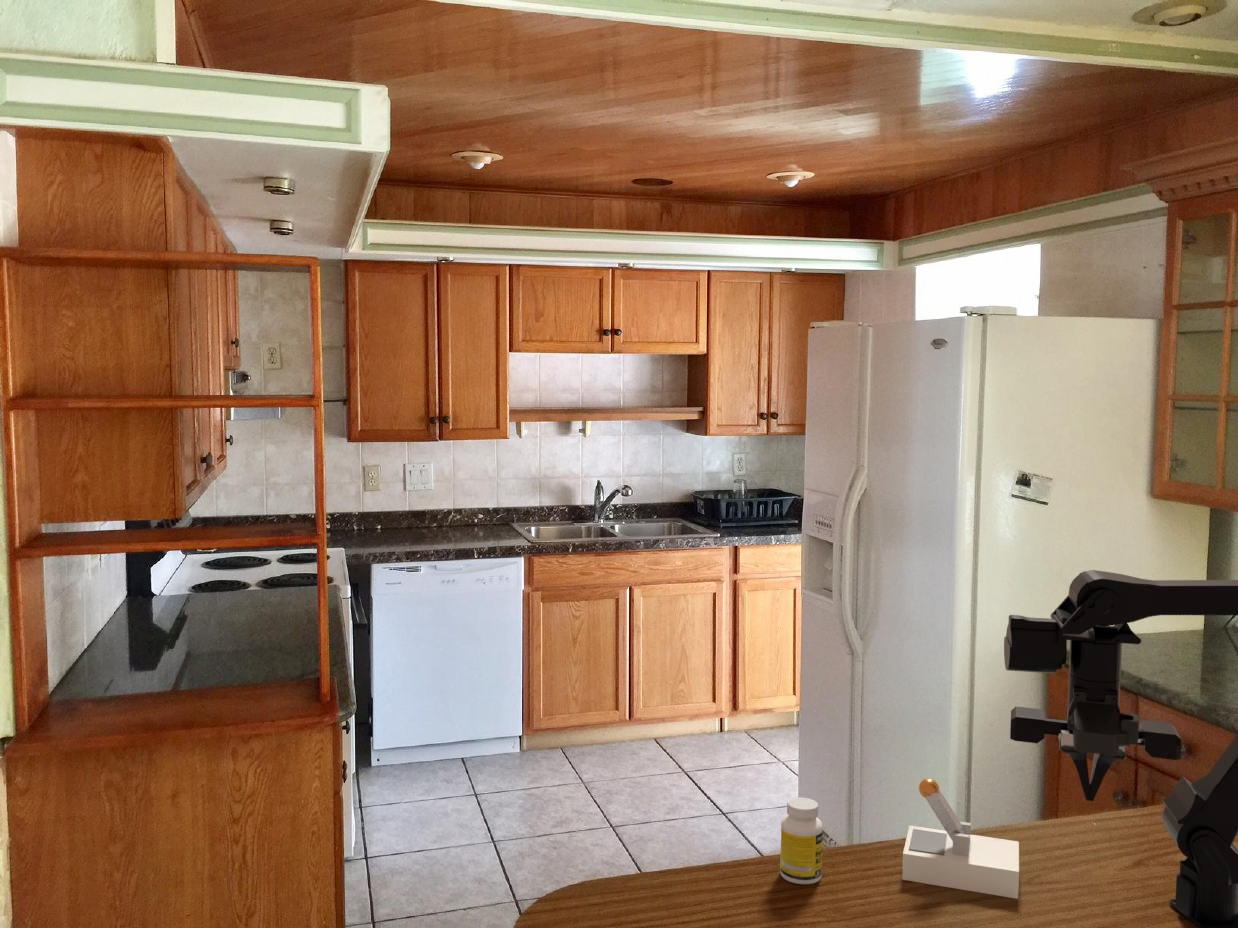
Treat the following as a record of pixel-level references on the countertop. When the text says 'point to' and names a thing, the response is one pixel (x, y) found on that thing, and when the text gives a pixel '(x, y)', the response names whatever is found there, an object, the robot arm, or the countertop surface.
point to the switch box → (962, 861)
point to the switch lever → (940, 807)
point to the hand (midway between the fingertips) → (1089, 799)
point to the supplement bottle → (801, 842)
